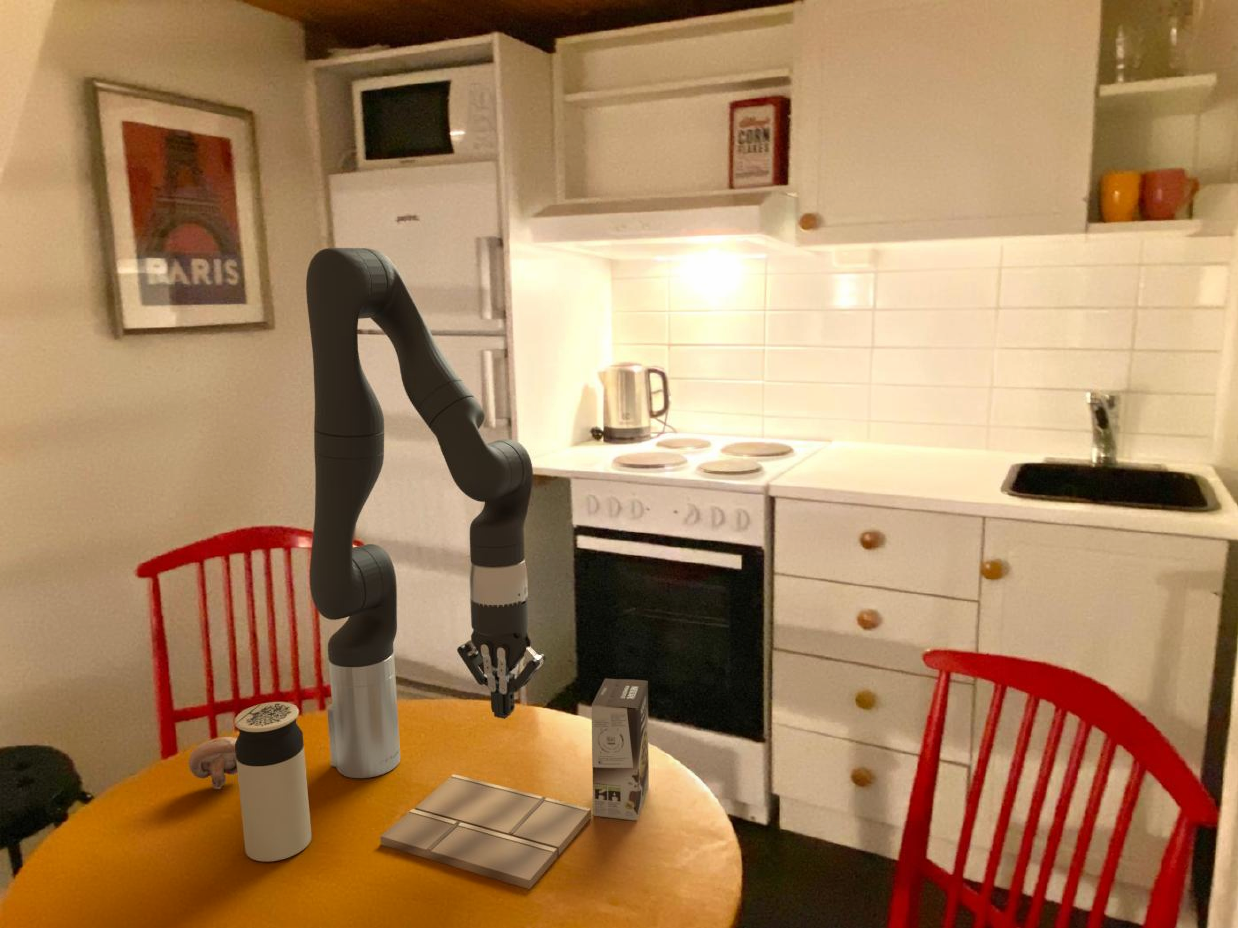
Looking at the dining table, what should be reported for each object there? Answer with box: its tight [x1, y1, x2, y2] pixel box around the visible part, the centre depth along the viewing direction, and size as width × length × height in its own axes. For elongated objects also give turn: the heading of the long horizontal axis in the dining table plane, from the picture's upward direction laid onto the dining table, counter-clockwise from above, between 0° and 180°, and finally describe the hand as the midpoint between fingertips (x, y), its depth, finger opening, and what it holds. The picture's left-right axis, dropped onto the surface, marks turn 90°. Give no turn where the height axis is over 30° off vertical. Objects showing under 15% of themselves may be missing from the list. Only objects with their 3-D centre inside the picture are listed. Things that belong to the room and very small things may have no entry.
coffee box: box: [591, 678, 650, 821], centre depth 125 cm, size 9×6×16 cm
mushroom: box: [188, 736, 238, 790], centre depth 131 cm, size 8×6×8 cm
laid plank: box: [380, 808, 558, 890], centre depth 116 cm, size 22×7×1 cm, turn 65°
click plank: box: [414, 774, 592, 856], centre depth 123 cm, size 22×9×1 cm, turn 65°
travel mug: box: [234, 701, 312, 862], centre depth 116 cm, size 8×8×18 cm
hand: (503, 715), depth 124 cm, fingers closed
